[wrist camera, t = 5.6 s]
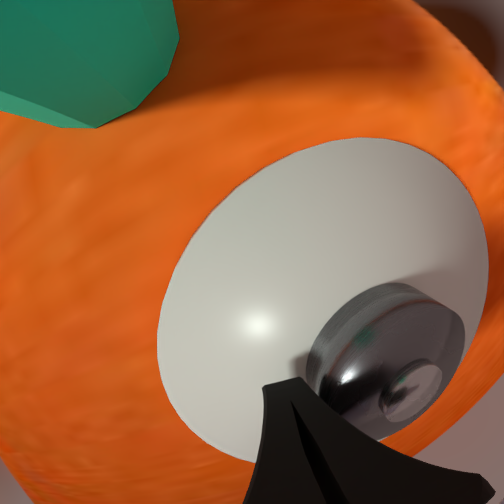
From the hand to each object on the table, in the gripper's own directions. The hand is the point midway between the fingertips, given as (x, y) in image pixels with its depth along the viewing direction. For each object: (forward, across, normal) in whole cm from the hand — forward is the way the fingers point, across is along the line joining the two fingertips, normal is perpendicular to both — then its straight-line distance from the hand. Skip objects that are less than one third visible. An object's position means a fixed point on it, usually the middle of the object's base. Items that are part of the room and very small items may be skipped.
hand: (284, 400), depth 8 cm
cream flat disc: (+2, -4, 0) cm, 4 cm away
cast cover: (+1, -4, 0) cm, 4 cm away
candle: (+2, +4, -13) cm, 14 cm away
